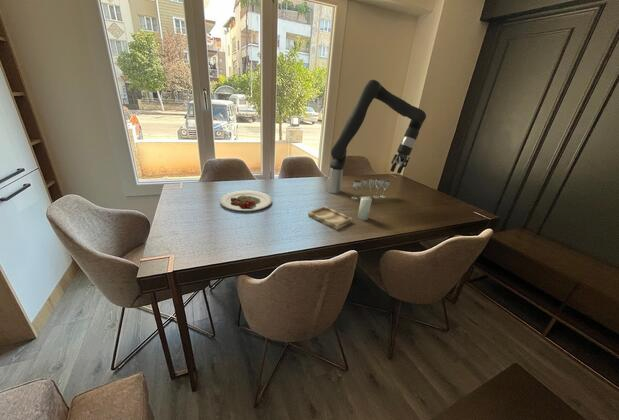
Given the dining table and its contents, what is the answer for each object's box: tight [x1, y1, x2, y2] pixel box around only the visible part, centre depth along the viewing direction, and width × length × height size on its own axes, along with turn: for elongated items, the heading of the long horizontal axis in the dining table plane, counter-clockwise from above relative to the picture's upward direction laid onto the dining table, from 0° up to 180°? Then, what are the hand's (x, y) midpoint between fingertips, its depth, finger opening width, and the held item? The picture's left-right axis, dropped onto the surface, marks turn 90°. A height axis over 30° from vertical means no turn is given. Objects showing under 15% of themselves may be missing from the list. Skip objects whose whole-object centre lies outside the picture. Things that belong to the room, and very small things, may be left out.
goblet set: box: [351, 177, 390, 200], centre depth 174 cm, size 28×6×13 cm, turn 108°
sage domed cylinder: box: [357, 196, 373, 221], centre depth 143 cm, size 6×6×12 cm
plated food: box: [219, 189, 273, 212], centre depth 151 cm, size 30×30×3 cm
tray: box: [307, 205, 353, 231], centre depth 140 cm, size 20×14×2 cm
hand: (395, 172), depth 151 cm, fingers open, 8 cm apart
